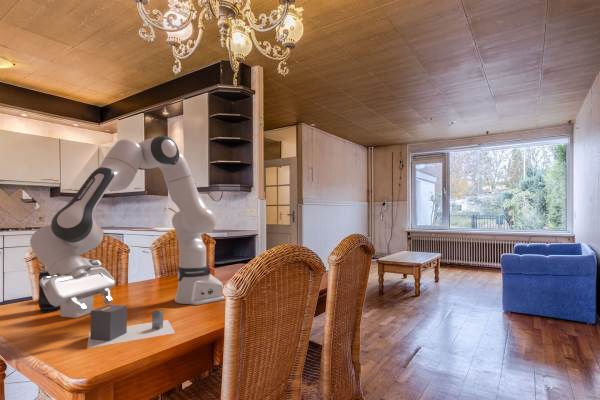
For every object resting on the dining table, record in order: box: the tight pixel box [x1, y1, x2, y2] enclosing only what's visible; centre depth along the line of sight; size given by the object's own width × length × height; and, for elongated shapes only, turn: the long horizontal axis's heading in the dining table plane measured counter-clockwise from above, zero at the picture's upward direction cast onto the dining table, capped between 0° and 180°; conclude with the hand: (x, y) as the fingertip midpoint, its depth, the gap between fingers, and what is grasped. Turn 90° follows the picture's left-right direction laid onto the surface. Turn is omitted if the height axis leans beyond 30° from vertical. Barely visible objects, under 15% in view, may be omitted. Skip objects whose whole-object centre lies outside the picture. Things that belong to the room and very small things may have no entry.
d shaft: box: [151, 309, 164, 330], centre depth 102 cm, size 3×3×5 cm
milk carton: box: [59, 296, 94, 319], centre depth 120 cm, size 7×7×19 cm
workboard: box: [86, 319, 176, 349], centre depth 98 cm, size 22×14×2 cm, turn 120°
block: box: [90, 304, 128, 341], centre depth 95 cm, size 6×6×8 cm
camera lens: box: [38, 270, 61, 313], centre depth 126 cm, size 8×8×15 cm
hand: (97, 306), depth 96 cm, fingers open, 8 cm apart
